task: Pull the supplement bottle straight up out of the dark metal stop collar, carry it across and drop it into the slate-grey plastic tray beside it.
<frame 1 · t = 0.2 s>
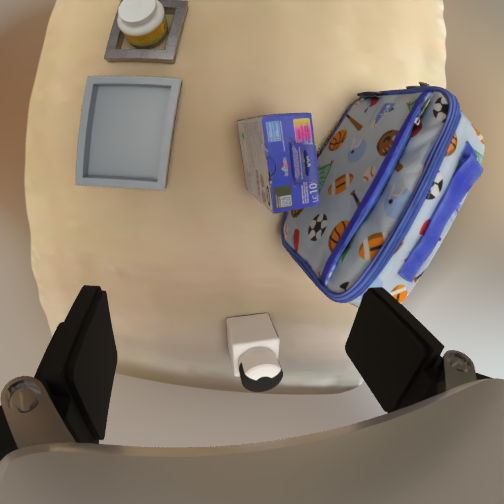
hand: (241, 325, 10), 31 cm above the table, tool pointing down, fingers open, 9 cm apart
supplement bottle: (148, 33, 28), resting in stop collar
ink cartridge box: (261, 153, 38), on the table
tray: (128, 131, 33), on the table
medicine bottle: (247, 330, 49), on the table
lunch box: (338, 168, 41), on the table
stop collar: (147, 32, 27), on the table
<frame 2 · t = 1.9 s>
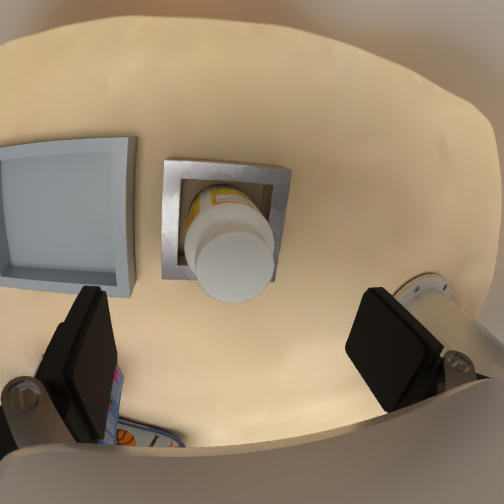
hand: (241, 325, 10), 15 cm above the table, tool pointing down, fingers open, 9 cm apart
supplement bottle: (220, 215, 23), resting in stop collar
ink cartridge box: (82, 367, 27), on the table
tray: (58, 211, 20), on the table
lunch box: (104, 424, 31), on the table
stop collar: (220, 216, 23), on the table
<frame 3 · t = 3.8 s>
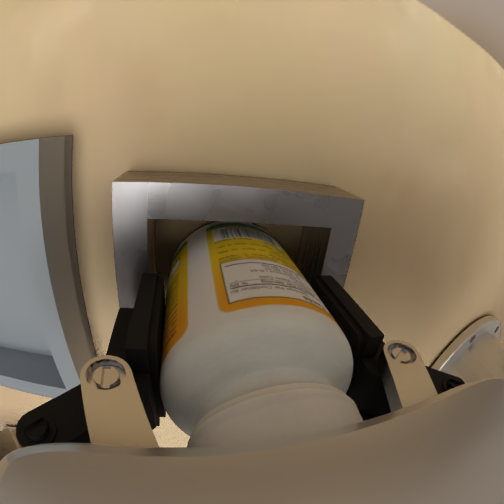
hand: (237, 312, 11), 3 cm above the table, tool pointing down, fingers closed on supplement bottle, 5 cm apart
supplement bottle: (226, 272, 13), resting in stop collar, touching gripper
stop collar: (227, 274, 13), on the table
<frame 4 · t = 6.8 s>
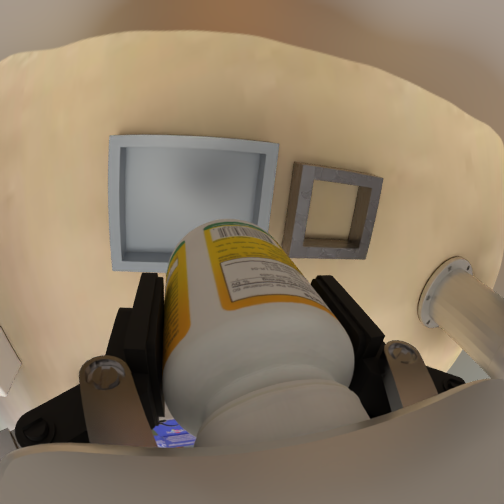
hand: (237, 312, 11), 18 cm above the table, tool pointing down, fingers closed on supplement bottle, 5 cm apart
supplement bottle: (223, 271, 13), point 15 cm above the table, touching gripper
ink cartridge box: (179, 348, 33), on the table
tray: (189, 200, 26), on the table
stop collar: (328, 209, 29), on the table
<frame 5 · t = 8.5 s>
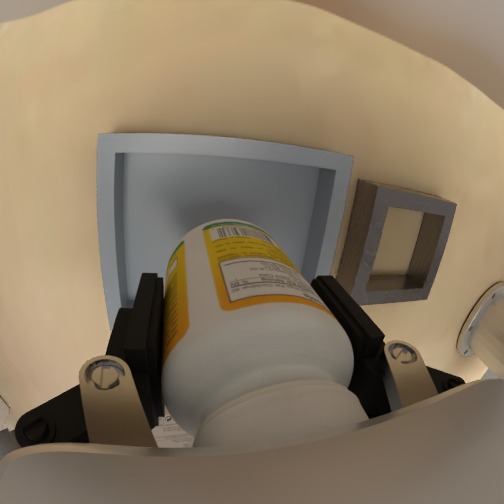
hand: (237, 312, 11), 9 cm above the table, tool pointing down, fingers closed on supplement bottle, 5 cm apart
supplement bottle: (223, 271, 13), point 6 cm above the table, touching gripper
ink cartridge box: (197, 403, 26), on the table
tray: (217, 230, 19), on the table
stop collar: (390, 240, 22), on the table
when the fingers open (6 cm above the table, at t = 9.9 s): supplement bottle drops 2 cm, resting on tray.
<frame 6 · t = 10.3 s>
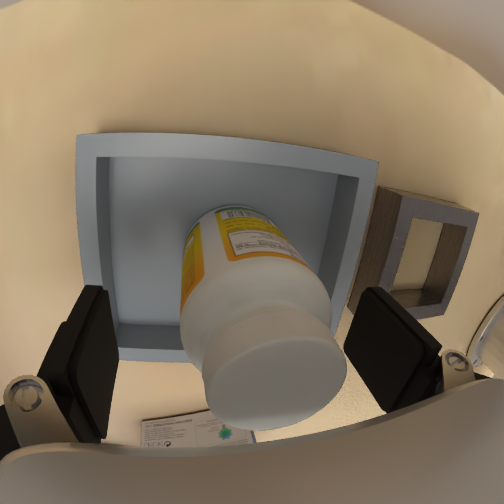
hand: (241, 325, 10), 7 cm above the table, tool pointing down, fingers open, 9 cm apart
supplement bottle: (231, 250, 16), point 1 cm above the table, touching tray
ink cartridge box: (198, 425, 23), on the table
tray: (219, 245, 16), on the table
stop collar: (409, 252, 20), on the table
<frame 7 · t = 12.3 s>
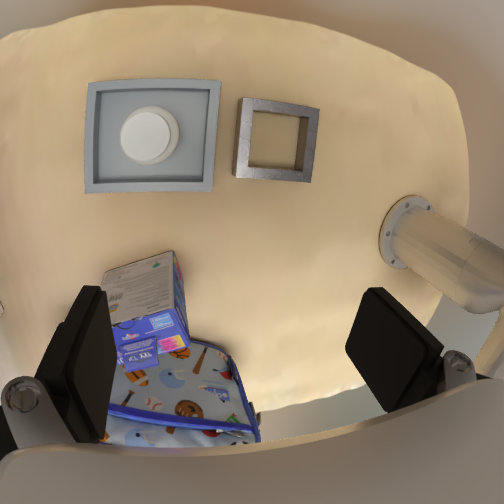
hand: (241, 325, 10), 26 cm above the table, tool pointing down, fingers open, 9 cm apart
supplement bottle: (155, 134, 29), point 1 cm above the table, touching tray
ink cartridge box: (144, 278, 36), on the table
tray: (151, 134, 29), on the table
lunch box: (153, 347, 41), on the table
stop collar: (272, 140, 32), on the table
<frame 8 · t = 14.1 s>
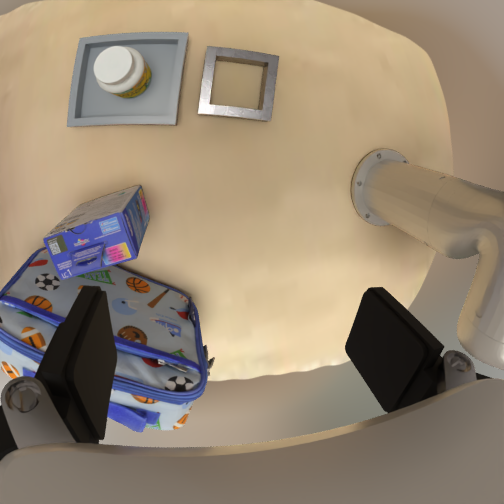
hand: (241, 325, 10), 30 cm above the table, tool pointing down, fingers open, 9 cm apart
supplement bottle: (131, 79, 29), point 1 cm above the table, touching tray
ink cartridge box: (114, 213, 36), on the table
tray: (128, 80, 29), on the table
lunch box: (119, 289, 41), on the table
stop collar: (236, 85, 33), on the table
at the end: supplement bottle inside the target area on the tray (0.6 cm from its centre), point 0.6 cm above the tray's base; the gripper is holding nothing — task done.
